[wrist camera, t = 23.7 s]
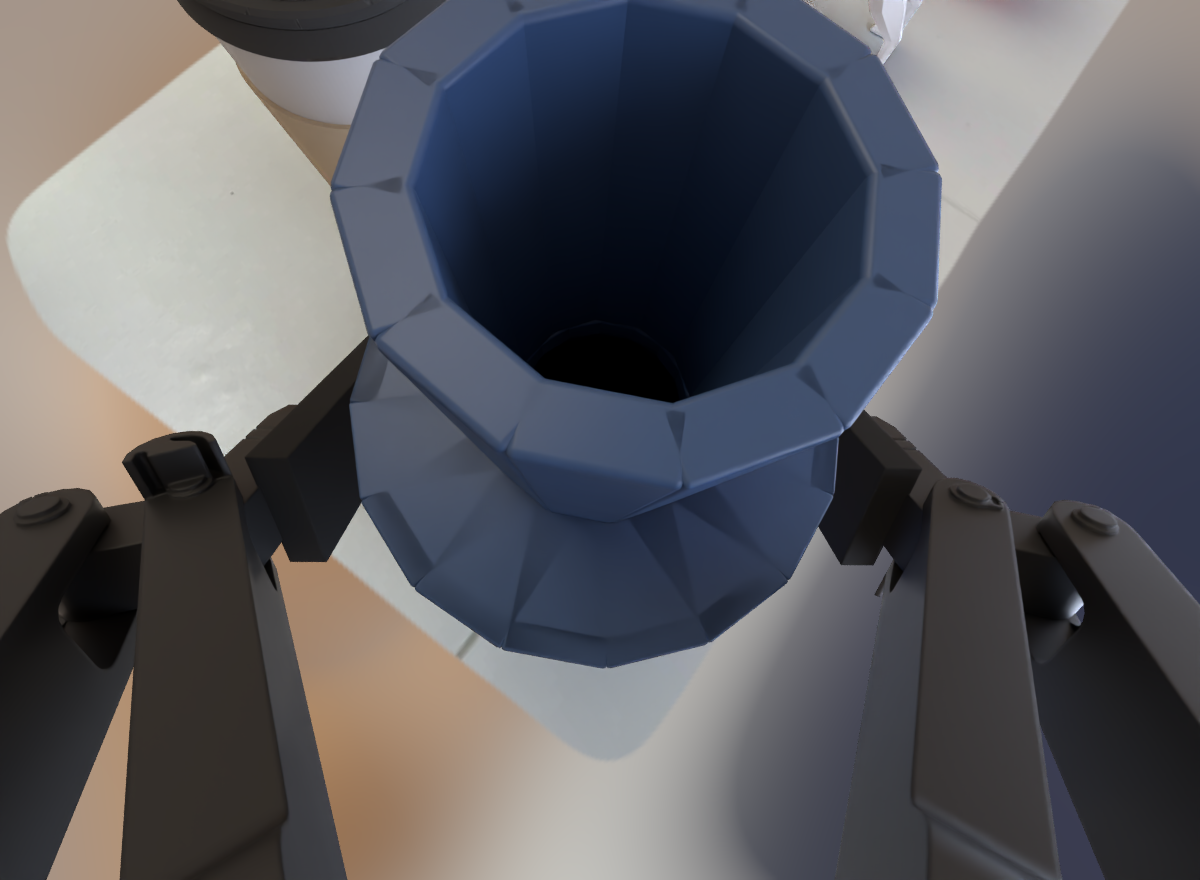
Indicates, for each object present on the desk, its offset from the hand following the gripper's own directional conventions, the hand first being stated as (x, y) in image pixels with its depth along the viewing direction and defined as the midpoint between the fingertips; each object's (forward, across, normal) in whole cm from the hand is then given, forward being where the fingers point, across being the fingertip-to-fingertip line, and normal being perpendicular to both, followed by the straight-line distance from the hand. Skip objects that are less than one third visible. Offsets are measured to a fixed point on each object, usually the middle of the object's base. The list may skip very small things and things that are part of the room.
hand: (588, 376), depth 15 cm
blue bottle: (+4, 0, -8) cm, 10 cm away
